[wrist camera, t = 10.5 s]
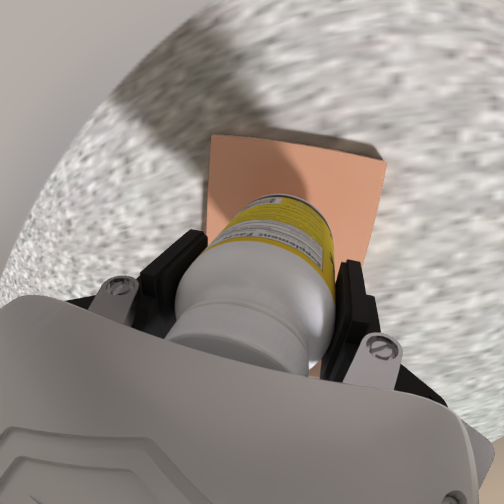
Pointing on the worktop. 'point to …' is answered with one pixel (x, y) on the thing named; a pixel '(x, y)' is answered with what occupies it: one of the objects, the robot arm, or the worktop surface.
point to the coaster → (297, 186)
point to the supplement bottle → (262, 288)
